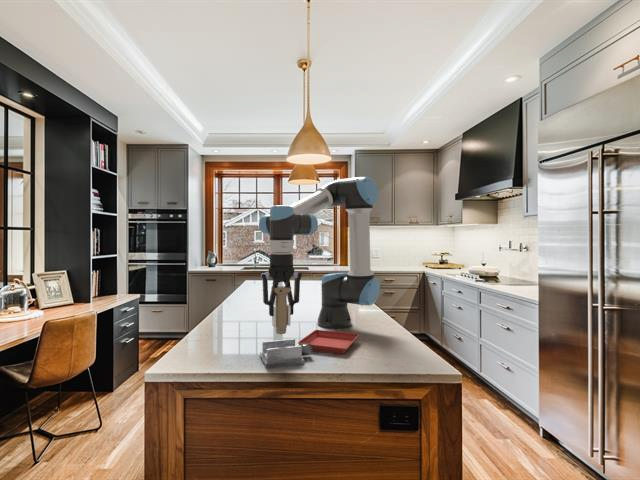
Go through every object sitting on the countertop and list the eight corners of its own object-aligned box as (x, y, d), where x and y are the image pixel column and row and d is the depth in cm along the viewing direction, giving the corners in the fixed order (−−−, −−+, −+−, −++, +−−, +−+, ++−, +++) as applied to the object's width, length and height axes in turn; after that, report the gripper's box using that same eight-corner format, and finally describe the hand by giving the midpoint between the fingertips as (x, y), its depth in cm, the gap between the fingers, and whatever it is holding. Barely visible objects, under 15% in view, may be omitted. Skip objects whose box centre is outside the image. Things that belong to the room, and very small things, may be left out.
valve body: (305, 351, 129) (305, 336, 129) (316, 362, 118) (316, 346, 117) (260, 355, 124) (260, 340, 124) (266, 368, 112) (266, 351, 112)
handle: (272, 331, 122) (272, 286, 122) (291, 331, 122) (291, 286, 122) (270, 335, 117) (270, 288, 117) (290, 335, 117) (290, 288, 117)
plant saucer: (346, 357, 123) (346, 347, 123) (297, 351, 130) (297, 342, 130) (359, 342, 140) (359, 333, 140) (315, 337, 147) (315, 329, 146)
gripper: (256, 254, 113) (256, 330, 113) (310, 253, 118) (309, 326, 119) (253, 253, 120) (253, 324, 120) (303, 252, 126) (303, 320, 126)
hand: (281, 325), depth 120 cm, fingers closed on handle, 4 cm apart
